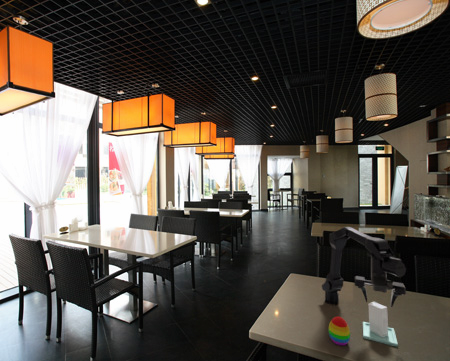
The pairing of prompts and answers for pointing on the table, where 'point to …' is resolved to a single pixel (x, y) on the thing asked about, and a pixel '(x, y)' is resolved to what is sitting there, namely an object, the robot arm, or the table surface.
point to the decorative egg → (339, 331)
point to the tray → (374, 337)
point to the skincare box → (378, 319)
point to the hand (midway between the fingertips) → (378, 304)
